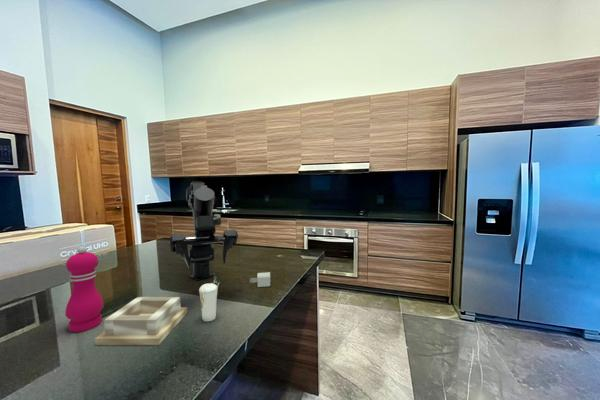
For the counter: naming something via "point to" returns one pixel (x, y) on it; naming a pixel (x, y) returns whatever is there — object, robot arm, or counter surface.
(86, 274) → the pepper mill
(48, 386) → the counter surface
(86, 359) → the counter surface
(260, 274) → the usb wall charger
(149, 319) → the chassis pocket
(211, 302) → the milkshake
